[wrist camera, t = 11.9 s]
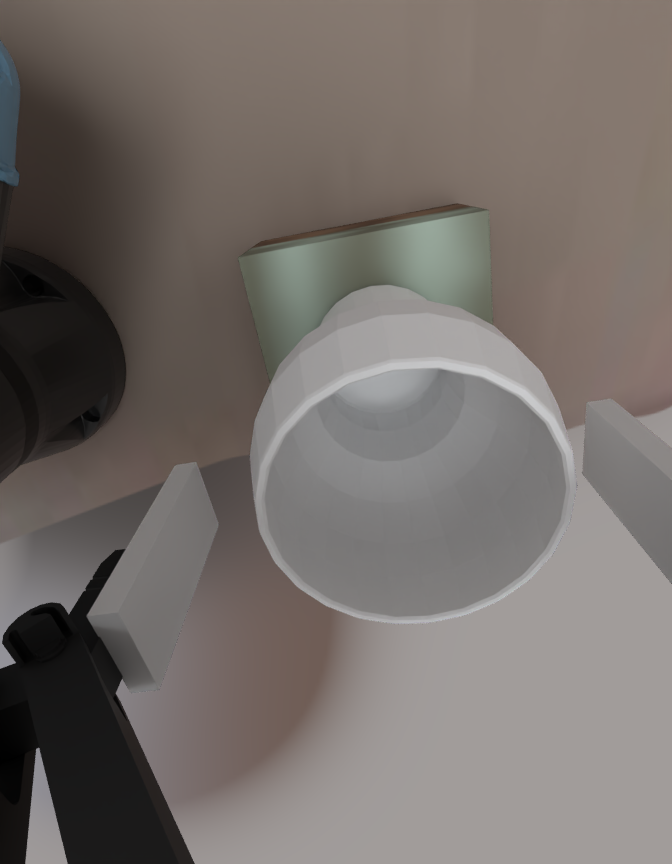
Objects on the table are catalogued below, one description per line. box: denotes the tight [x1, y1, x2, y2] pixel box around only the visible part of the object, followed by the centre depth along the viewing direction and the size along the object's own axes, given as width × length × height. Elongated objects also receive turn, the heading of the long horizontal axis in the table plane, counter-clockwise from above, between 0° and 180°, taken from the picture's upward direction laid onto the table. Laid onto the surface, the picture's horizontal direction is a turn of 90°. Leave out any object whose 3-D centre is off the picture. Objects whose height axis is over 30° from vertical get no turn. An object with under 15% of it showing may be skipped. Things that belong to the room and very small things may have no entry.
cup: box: [250, 285, 577, 624], centre depth 21 cm, size 11×11×15 cm
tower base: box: [238, 204, 493, 383], centre depth 32 cm, size 13×13×8 cm
